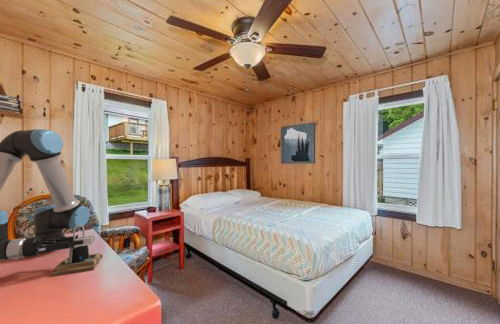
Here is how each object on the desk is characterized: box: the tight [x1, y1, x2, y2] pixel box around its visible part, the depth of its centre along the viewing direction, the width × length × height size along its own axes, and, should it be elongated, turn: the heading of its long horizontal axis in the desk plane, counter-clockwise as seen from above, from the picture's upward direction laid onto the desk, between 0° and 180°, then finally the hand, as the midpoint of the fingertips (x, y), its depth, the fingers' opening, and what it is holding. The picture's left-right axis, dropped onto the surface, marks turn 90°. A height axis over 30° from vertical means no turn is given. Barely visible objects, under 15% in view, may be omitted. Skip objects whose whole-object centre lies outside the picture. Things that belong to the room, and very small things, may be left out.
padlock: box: [68, 225, 90, 263], centre depth 99 cm, size 7×4×15 cm, turn 140°
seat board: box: [51, 252, 103, 278], centre depth 99 cm, size 15×14×3 cm
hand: (93, 239), depth 101 cm, fingers closed on padlock, 3 cm apart
